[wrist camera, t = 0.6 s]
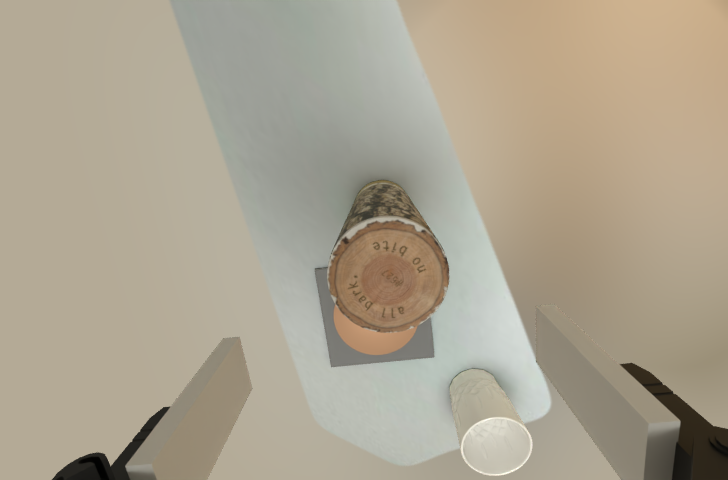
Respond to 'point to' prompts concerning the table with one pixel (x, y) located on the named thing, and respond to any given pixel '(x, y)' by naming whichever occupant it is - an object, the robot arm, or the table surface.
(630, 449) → the robot arm
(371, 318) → the brown bark cylinder
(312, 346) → the table surface
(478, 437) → the white cup
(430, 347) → the coaster
